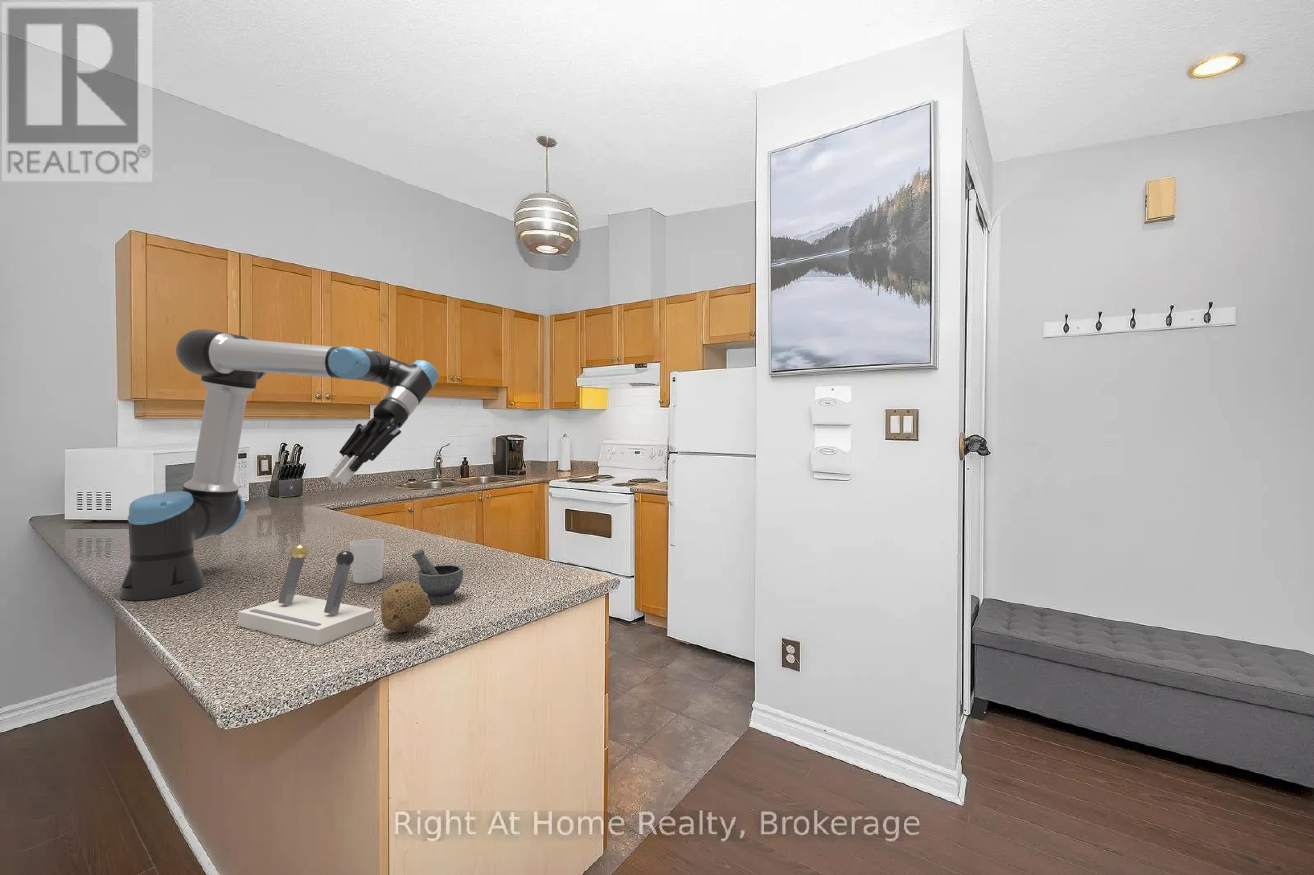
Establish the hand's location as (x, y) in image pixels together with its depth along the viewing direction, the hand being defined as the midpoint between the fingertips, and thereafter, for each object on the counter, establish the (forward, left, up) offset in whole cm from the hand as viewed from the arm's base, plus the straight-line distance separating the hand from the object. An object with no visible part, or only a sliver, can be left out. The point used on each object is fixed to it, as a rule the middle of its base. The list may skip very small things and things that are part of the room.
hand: (336, 480), depth 127 cm
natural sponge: (+25, +15, -28) cm, 40 cm away
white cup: (-17, +4, -28) cm, 34 cm away
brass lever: (+9, -9, -25) cm, 28 cm away
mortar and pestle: (+6, +21, -28) cm, 36 cm away
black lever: (+19, +1, -25) cm, 31 cm away
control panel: (+14, -4, -28) cm, 31 cm away
